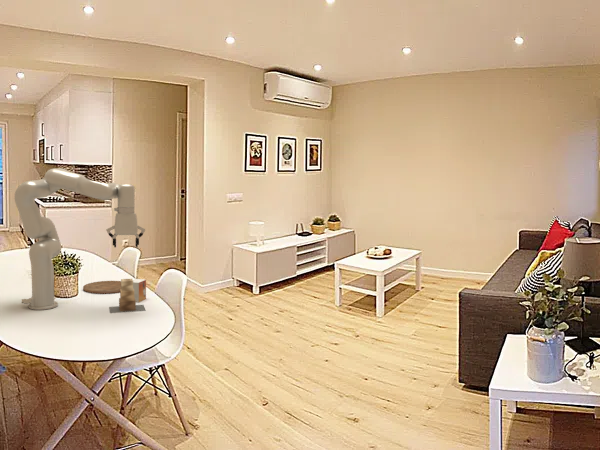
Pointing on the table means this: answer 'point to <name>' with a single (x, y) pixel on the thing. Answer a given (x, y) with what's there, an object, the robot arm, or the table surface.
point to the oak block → (127, 295)
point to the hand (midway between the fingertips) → (125, 246)
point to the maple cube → (126, 285)
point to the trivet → (103, 287)
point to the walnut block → (127, 305)
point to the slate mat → (117, 310)
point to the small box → (139, 289)
